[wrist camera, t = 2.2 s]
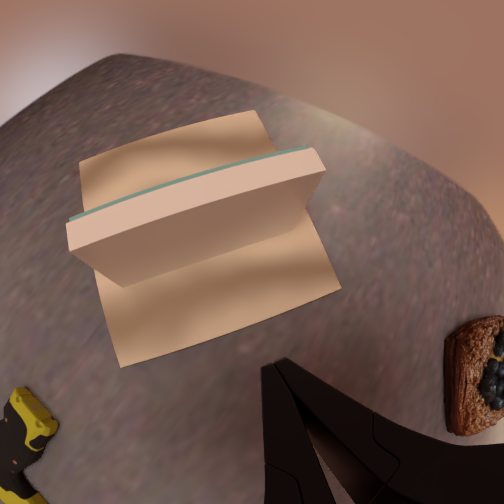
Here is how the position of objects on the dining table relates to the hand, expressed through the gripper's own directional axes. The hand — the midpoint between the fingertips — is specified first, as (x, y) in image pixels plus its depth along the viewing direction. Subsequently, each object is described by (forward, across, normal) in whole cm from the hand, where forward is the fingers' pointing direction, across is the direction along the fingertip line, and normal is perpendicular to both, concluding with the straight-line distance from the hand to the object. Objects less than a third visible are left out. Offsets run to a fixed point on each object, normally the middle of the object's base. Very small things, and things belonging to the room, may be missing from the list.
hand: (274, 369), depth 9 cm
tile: (+15, 0, +3) cm, 15 cm away
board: (+18, 0, +1) cm, 18 cm away
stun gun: (+10, +28, +10) cm, 31 cm away
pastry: (+1, -21, +19) cm, 28 cm away
